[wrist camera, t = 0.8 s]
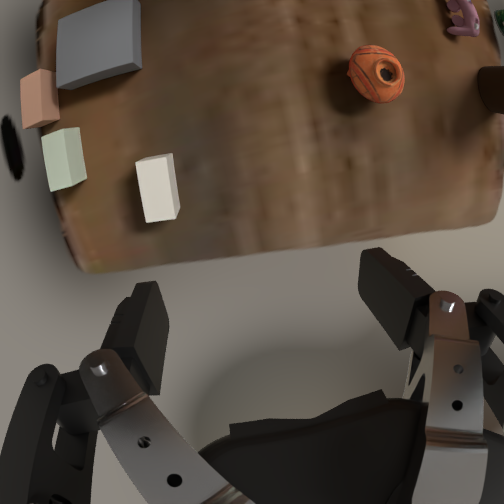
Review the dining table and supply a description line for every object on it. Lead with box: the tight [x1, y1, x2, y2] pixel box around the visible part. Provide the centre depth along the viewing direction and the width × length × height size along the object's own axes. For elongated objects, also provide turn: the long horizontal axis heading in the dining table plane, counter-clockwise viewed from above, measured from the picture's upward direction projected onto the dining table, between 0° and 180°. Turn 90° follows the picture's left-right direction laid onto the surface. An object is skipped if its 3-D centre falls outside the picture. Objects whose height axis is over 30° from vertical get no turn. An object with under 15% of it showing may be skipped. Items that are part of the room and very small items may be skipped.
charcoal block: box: [56, 0, 142, 90], centre depth 22 cm, size 10×10×4 cm
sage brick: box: [41, 127, 87, 192], centre depth 27 cm, size 7×4×4 cm, turn 4°
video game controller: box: [447, 0, 479, 37], centre depth 21 cm, size 10×5×7 cm, turn 11°
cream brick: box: [135, 153, 180, 223], centre depth 31 cm, size 7×4×4 cm, turn 4°
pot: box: [347, 45, 405, 103], centre depth 27 cm, size 8×8×7 cm
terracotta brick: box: [20, 69, 60, 129], centre depth 23 cm, size 7×4×4 cm, turn 5°
